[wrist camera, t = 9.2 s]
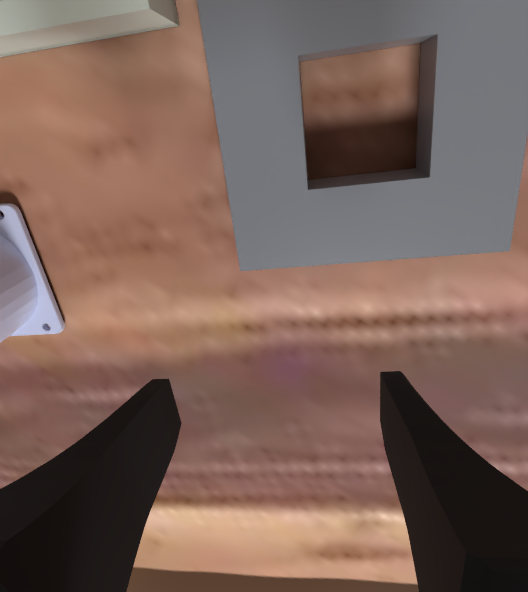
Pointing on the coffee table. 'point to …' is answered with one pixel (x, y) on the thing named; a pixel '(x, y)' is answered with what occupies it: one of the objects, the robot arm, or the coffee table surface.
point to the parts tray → (77, 21)
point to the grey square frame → (382, 185)
